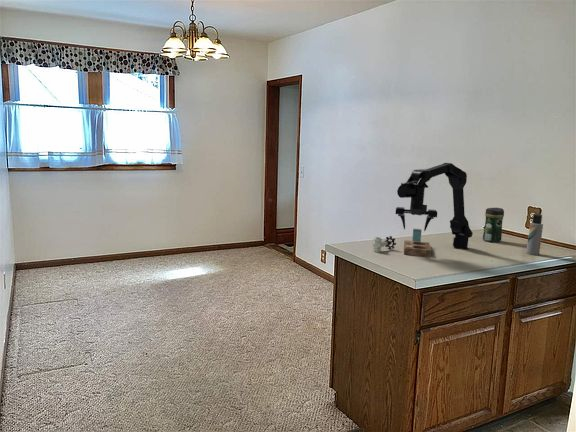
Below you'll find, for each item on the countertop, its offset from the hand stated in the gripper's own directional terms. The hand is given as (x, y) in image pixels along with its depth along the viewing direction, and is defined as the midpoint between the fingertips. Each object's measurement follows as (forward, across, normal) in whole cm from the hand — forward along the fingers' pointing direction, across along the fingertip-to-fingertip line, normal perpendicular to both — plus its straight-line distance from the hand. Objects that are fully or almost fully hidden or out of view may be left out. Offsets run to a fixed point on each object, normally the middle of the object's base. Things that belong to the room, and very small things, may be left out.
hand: (414, 230), depth 225 cm
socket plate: (+11, +2, +4) cm, 12 cm away
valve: (+11, -14, -1) cm, 18 cm away
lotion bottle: (+11, +58, +24) cm, 64 cm away
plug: (+11, +2, +20) cm, 22 cm away
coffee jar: (+11, +43, +49) cm, 66 cm away
